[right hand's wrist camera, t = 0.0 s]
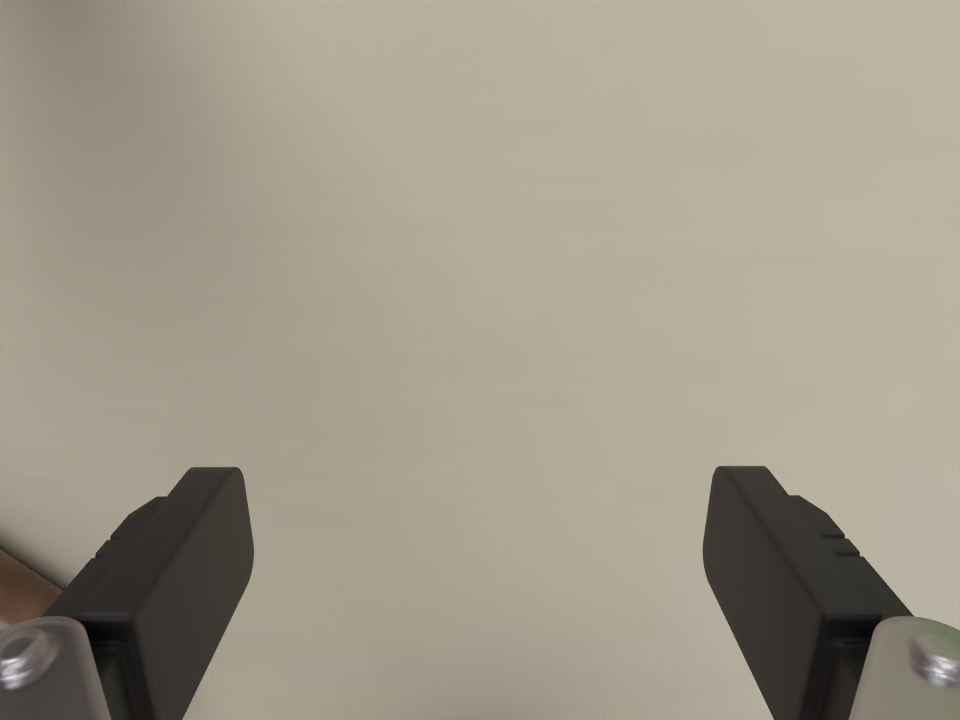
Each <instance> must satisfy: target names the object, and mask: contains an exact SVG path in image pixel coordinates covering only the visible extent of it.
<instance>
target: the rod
mask: <svg viewBox="0 0 960 720" xmlns="http://www.w3.org/2000/svg"><path fill="white" fill-rule="evenodd" d="M62 592H63V590H62V589H60V588H59V587H57V586H55V585H54V584H52V583H51V582H49V581H48V580H46V579H45V578H43V577H42V576H40V575H39V574H37V573H36V572H34V571H33V570H31V569H30V568H28V567H27V566H25V565H24V564H22V563H21V562H19V561H18V560H16V559H15V558H13V557H12V556H10V555H9V554H7V553H6V552H4V551H3V550H1V549H0V630H2V629H4V628H7V627H9V626H12V625H14V624H17V623H20V622H23V621H26V620H30V619H34V618H39V617H42V616H43V615H44V613H45V612H46V611H47V610H48V609H49V608H50V606H51V605H52V604H53V603H54V602H55V601H56V599H57V598H58V597H59V596H60V595H61V594H62Z"/></svg>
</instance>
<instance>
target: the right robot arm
mask: <svg viewBox="0 0 960 720" xmlns="http://www.w3.org/2000/svg"><path fill="white" fill-rule="evenodd" d="M253 559H254V545H253V538H252V531H251V524H250V517H249V510H248V503H247V496H246V489H245V483H244V477H243V474H242V472H241V470H240V469H239V468H237V467H192V468H190V469H189V470H188V471H187V472H186V473H185V475H184V476H183V477H182V478H181V480H180V481H179V482H178V483H177V485H176V486H175V487H174V488H173V490H172V491H171V492H170V493H169V495H168V496H167V497H156V498H154V499H153V500H151V501H149V502H148V503H146V504H145V505H143V506H142V507H140V508H139V509H137V510H136V511H134V512H132V513H131V514H129V515H128V516H127V518H126V519H125V520H124V521H123V522H122V523H121V525H120V526H119V527H118V528H117V529H116V530H115V532H114V533H113V534H112V535H111V539H110V540H107V541H106V542H105V543H104V544H103V546H102V547H101V548H100V549H99V550H98V551H97V553H96V556H95V558H91V560H90V561H89V562H88V563H87V564H86V565H85V567H84V568H83V569H82V570H81V571H80V572H79V574H78V575H77V576H76V577H75V578H74V580H73V581H72V582H71V583H70V584H69V585H68V587H67V588H66V589H65V590H64V591H63V592H62V594H61V595H60V596H59V597H58V598H57V599H56V601H55V602H54V603H53V604H52V605H51V606H50V608H49V609H48V610H47V611H46V612H45V613H44V615H43V616H42V617H39V618H34V619H30V620H26V621H23V622H20V623H17V624H14V625H12V626H9V627H7V628H4V629H2V630H0V720H182V719H183V717H184V715H185V713H186V711H187V709H188V706H189V704H190V702H191V700H192V698H193V696H194V694H195V692H196V690H197V688H198V686H199V684H200V682H201V680H202V678H203V675H204V673H205V671H206V669H207V667H208V665H209V663H210V661H211V659H212V657H213V655H214V653H215V651H216V649H217V647H218V644H219V642H220V640H221V638H222V636H223V634H224V632H225V630H226V628H227V626H228V624H229V622H230V620H231V618H232V616H233V613H234V611H235V609H236V607H237V605H238V603H239V601H240V599H241V597H242V595H243V593H244V591H245V589H246V587H247V585H248V582H249V579H250V576H251V572H252V567H253ZM703 562H704V568H705V573H706V576H707V579H708V582H709V584H710V586H711V588H712V590H713V593H714V595H715V597H716V599H717V601H718V603H719V605H720V607H721V609H722V611H723V613H724V616H725V618H726V620H727V622H728V624H729V626H730V628H731V630H732V632H733V634H734V636H735V639H736V641H737V643H738V645H739V647H740V649H741V651H742V653H743V655H744V657H745V659H746V662H747V664H748V666H749V668H750V670H751V672H752V674H753V676H754V678H755V680H756V682H757V685H758V687H759V689H760V691H761V693H762V695H763V697H764V699H765V701H766V703H767V706H768V708H769V710H770V712H771V714H772V716H773V718H774V720H960V630H958V629H956V628H953V627H951V626H948V625H946V624H943V623H940V622H937V621H934V620H930V619H926V618H921V617H914V616H913V615H912V613H911V612H910V611H909V610H908V609H907V607H906V606H905V605H904V604H903V603H902V602H901V600H900V599H899V598H898V597H897V596H896V594H895V593H894V592H893V591H892V590H891V589H890V587H889V586H888V585H887V584H886V583H885V581H884V580H883V579H882V578H881V577H880V576H879V574H878V573H877V572H876V571H875V570H874V568H873V567H872V566H871V565H870V564H869V563H868V561H867V560H866V559H865V558H864V557H860V552H859V551H858V550H857V548H856V547H855V546H854V545H853V544H852V543H851V541H850V540H849V539H845V534H844V533H843V532H842V531H841V530H840V528H839V527H838V526H837V525H836V524H835V522H834V521H833V520H832V519H831V518H830V517H829V515H828V514H827V513H825V512H824V511H822V510H821V509H819V508H818V507H816V506H815V505H813V504H811V503H810V502H808V501H807V500H805V499H804V498H802V497H801V496H799V495H788V494H787V492H786V491H785V490H784V489H783V487H782V486H781V485H780V484H779V482H778V481H777V480H776V478H775V477H774V476H773V475H772V473H771V472H770V471H769V470H768V469H767V468H766V467H764V466H718V467H717V468H716V470H715V472H714V474H713V478H712V484H711V491H710V498H709V505H708V512H707V519H706V526H705V533H704V540H703Z"/></svg>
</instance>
